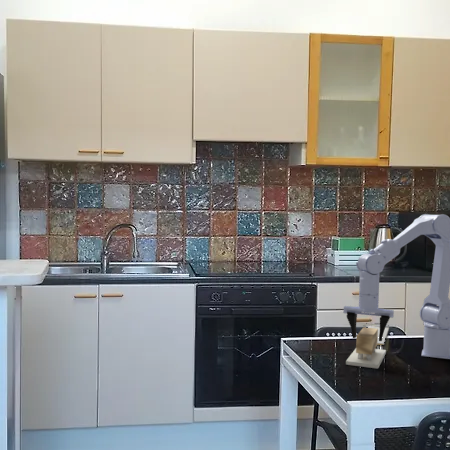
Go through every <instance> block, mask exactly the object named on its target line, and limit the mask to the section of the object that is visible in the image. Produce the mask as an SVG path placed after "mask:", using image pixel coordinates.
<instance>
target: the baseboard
mask: <svg viewBox="0 0 450 450" xmlns="http://www.w3.org/2000/svg"><path fill="white" fill-rule="evenodd" d="M367 324H368V323H367V322H366V323H365V324H364V325H362V326H363V327H365V325H367ZM375 325H376V326H375ZM375 325H374V326H373V325H368V326H367V327H368V328H375V329H378V337H379V333H380V326H377V325H380V322H375ZM387 326H388V327H387ZM389 326H390V325H389V324H387V325H386V327H385V330H384V333H383V338H382V341H379V338H378V339H377V345H385V343H384V342H386V340H385V338H386V339H387V337H388V333H389V329H390V327H389Z"/></svg>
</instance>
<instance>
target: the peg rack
mask: <svg viewBox="0 0 450 450" xmlns="http://www.w3.org/2000/svg"><path fill="white" fill-rule="evenodd" d="M386 353H387V350H386V349H379V348H377V347H376V348H375V350H374V351H373V353H372V355H370V354H361V353H356V348H354V350H353V352H351V353H350V355H349V356H348V358H347V359H346V360H345V366H346V365H348V366H355V367H364V368H370V369H371V368H372V369H379V368H380V365H381V364H382V362H383V360H384V357H385V355H386Z"/></svg>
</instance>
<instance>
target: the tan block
mask: <svg viewBox="0 0 450 450" xmlns="http://www.w3.org/2000/svg"><path fill="white" fill-rule="evenodd" d="M355 339H356V343H355V344H356V345H355V349H356V353H361V354H370V355H372V353H373V351H374V350H375V348H376V349H377V347H378V346H377V339H378V329H375V328H366V326H363V327H362V329H360V331H359V332H358V334H356V338H355Z"/></svg>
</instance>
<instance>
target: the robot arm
mask: <svg viewBox="0 0 450 450" xmlns="http://www.w3.org/2000/svg"><path fill="white" fill-rule="evenodd" d="M423 235H424V236H425V237H427V238H429V240H431V241H432V242H433V244H434V245H435V250H434V259H433V265H432V266H433V267H432V272H431V273H432V274H431V281H430V291H429V294H428V296H426V297H425V298H424V300H423V303H422V306H421V308H420V309H419V317H420V320H421V321H422V322H423V323H422V324H423V325H424V327H423V349H422V350H421V357H426V358H427V357H428V358H429V357H430V358H437V359H445V360H450V298H449V294H450V217H449V216H448V215H447V214H443V213H442V214H428V213H424V214H421V215H420V216H419V217H417V218H415V219H414V220H413V222H412V223H411V224H410V225H408V226H407V227H406V228H405V229H404V230H402V231H401V232H400V233H399V234H397V236H395V237H394V238H393V239H391V238H387V239H385V238H383V239H382V240H381V241H380V244H378V245H377V246H376V247H374V248H371V249H370V250H369V252H368V253H364V254H361V255H360V256H359V257H358V260H357V262H355V265H356V268H357V270H358V272H359V273H358V274H359V284H358V285H359V288H358V291H359V292H358V306H351V305H350V306H349V305H348V306H347V305H345V306H343V314H346V319H347V321H348V323H349V326H350V329H351V333H352V339H357V320H358V319H357V318H358V315H364V316H365V315H366V316H376V317H379V327H380V333H379V341H382V337H383V333H384V330H385V327H387V325H388V323H389V320H390V318H391V319H393V318H394V316H395V311H394V310H393V309H385V308H380V307H379V301H380V300H379V299H380V298H379V295H380V293H379V292H380V273H382V272H383V270H384V268H385V265H386V264H388V263H389V262H390V261H392V260H393V259H395V258H396V257H397V256H399V254H400V253H401V249H402V248H403V247H405V246H406V245H407V244H409V243H410V242H412V241H413V240H415V239H417V238H418V237H420V236H423Z"/></svg>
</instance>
